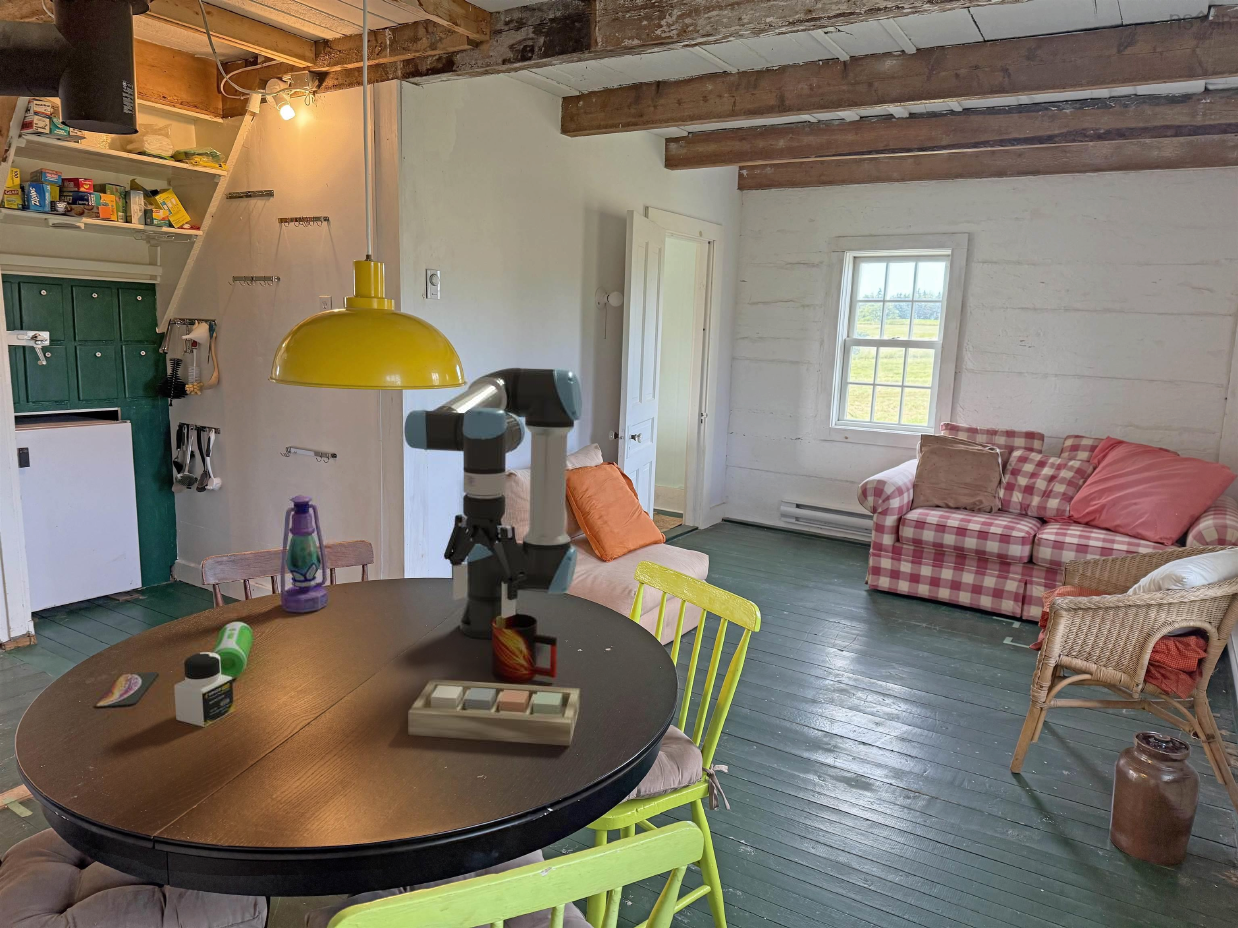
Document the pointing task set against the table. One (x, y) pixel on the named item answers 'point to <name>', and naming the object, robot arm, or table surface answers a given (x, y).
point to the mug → (519, 649)
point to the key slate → (480, 698)
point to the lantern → (303, 559)
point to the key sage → (547, 703)
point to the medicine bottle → (203, 691)
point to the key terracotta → (514, 701)
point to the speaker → (233, 648)
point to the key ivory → (446, 696)
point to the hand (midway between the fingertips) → (483, 606)
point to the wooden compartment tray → (495, 716)
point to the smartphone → (127, 690)
